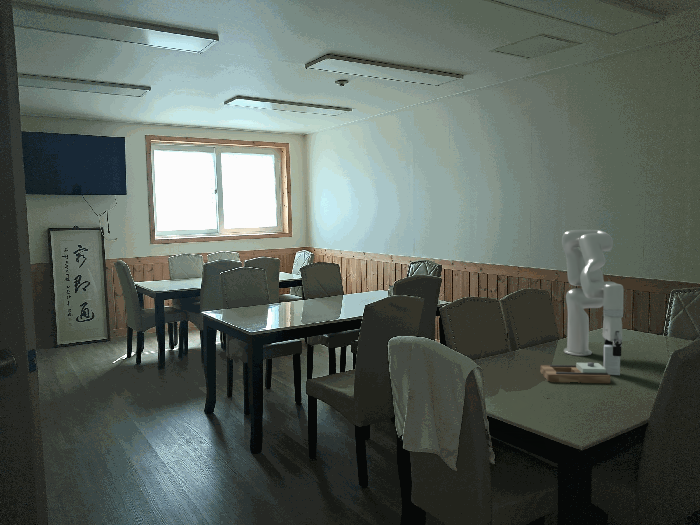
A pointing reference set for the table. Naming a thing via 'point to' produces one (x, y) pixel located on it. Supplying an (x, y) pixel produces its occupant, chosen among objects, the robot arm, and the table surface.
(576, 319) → the robot arm
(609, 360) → the skincare box
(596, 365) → the lid
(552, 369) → the brown wooden sliding box
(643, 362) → the table surface
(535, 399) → the table surface
